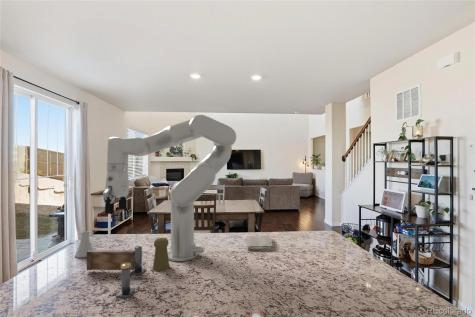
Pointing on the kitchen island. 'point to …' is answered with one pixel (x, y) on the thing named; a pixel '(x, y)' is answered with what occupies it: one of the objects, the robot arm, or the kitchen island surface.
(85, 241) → the flask
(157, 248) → the olive rounded lobed piece
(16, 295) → the kitchen island surface
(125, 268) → the grey upright posts
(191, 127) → the robot arm
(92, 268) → the brown wooden plank
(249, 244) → the washcloth
